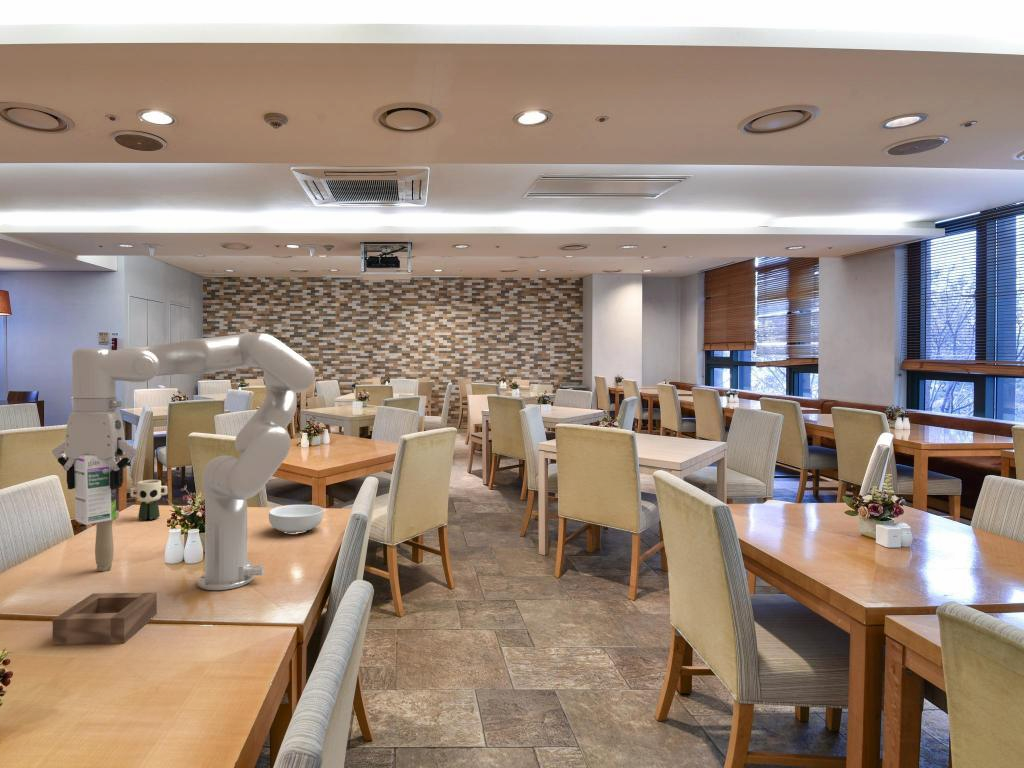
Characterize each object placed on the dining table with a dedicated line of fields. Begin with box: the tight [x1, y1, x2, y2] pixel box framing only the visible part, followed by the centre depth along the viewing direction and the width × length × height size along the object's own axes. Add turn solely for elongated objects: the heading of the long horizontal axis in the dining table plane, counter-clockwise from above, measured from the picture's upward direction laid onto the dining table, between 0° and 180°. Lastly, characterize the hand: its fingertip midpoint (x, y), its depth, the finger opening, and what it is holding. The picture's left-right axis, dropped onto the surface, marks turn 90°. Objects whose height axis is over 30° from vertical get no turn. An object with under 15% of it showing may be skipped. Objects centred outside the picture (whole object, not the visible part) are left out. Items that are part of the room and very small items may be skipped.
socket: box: [52, 591, 158, 646], centre depth 122 cm, size 13×13×5 cm
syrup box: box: [74, 455, 117, 526], centre depth 127 cm, size 6×6×14 cm
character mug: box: [130, 479, 168, 521], centre depth 204 cm, size 11×7×13 cm, turn 116°
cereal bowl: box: [268, 504, 324, 533], centre depth 194 cm, size 17×17×7 cm
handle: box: [94, 509, 120, 572], centre depth 155 cm, size 5×6×15 cm
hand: (95, 487), depth 127 cm, fingers closed on syrup box, 8 cm apart
